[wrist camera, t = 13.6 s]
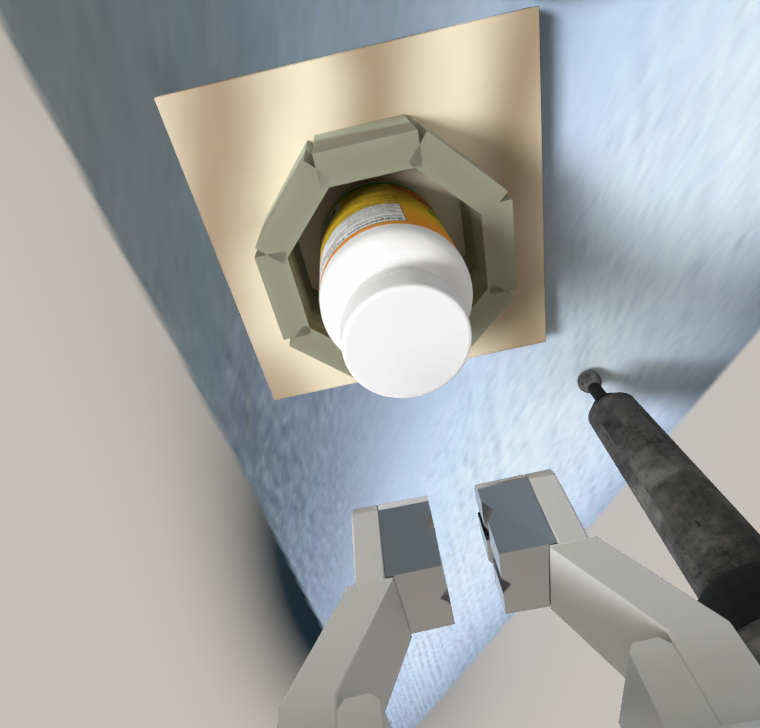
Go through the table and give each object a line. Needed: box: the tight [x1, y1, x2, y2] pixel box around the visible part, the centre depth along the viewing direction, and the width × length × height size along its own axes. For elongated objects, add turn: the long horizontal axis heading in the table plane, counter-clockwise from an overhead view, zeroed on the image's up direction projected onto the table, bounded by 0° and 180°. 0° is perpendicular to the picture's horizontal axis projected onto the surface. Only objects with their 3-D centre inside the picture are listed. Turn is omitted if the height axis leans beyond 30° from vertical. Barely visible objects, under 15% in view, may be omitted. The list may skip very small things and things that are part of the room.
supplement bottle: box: [319, 180, 473, 398], centre depth 19 cm, size 5×5×10 cm
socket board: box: [154, 6, 546, 400], centre depth 22 cm, size 15×15×5 cm
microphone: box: [578, 371, 760, 665], centre depth 22 cm, size 7×7×20 cm
